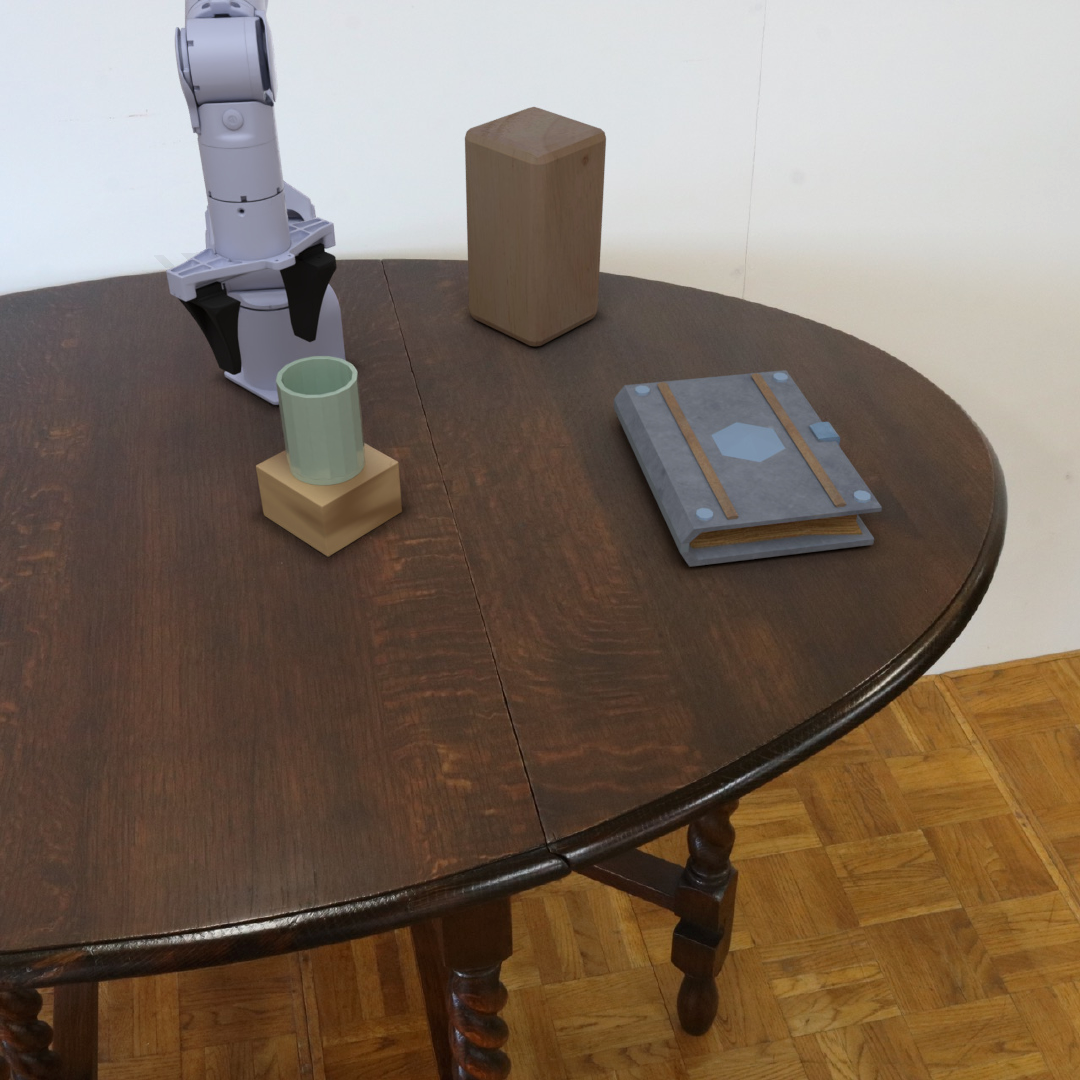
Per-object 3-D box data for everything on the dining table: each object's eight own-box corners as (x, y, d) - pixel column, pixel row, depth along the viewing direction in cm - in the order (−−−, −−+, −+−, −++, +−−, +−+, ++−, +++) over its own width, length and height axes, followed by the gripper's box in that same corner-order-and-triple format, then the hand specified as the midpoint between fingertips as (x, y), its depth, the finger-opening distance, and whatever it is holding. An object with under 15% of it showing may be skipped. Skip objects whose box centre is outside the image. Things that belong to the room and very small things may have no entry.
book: (612, 425, 108) (615, 377, 105) (783, 408, 111) (791, 361, 108) (678, 572, 92) (683, 521, 89) (876, 548, 95) (889, 497, 92)
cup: (331, 433, 97) (321, 347, 92) (381, 462, 94) (373, 375, 89) (273, 464, 94) (259, 376, 89) (322, 495, 91) (311, 406, 86)
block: (338, 473, 101) (332, 424, 98) (402, 511, 97) (399, 461, 94) (263, 515, 97) (255, 465, 94) (328, 557, 93) (321, 506, 90)
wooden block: (601, 318, 124) (611, 127, 111) (535, 353, 118) (538, 155, 105) (531, 287, 129) (533, 101, 116) (465, 319, 123) (460, 127, 111)
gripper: (196, 230, 82) (225, 402, 90) (354, 177, 91) (368, 338, 99) (137, 205, 86) (170, 372, 94) (295, 157, 95) (313, 313, 103)
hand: (268, 353), depth 97 cm, fingers open, 7 cm apart
